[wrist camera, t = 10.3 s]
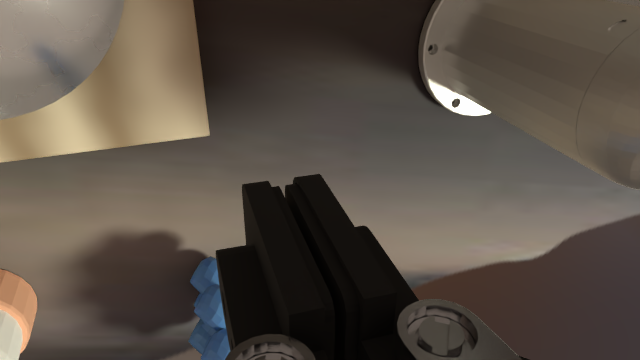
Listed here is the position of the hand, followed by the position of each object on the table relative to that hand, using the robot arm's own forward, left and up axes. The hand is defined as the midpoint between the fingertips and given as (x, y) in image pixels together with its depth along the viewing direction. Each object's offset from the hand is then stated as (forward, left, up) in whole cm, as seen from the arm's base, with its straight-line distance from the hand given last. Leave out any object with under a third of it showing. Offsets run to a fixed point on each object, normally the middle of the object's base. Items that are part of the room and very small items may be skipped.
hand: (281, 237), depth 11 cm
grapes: (0, +23, -27) cm, 36 cm away
